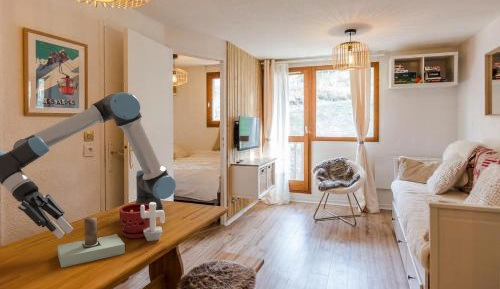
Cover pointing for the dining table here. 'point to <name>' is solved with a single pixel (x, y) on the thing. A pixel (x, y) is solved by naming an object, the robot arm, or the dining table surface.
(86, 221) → the peg
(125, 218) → the plant pot
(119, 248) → the board
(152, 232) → the figurine
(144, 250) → the dining table surface
